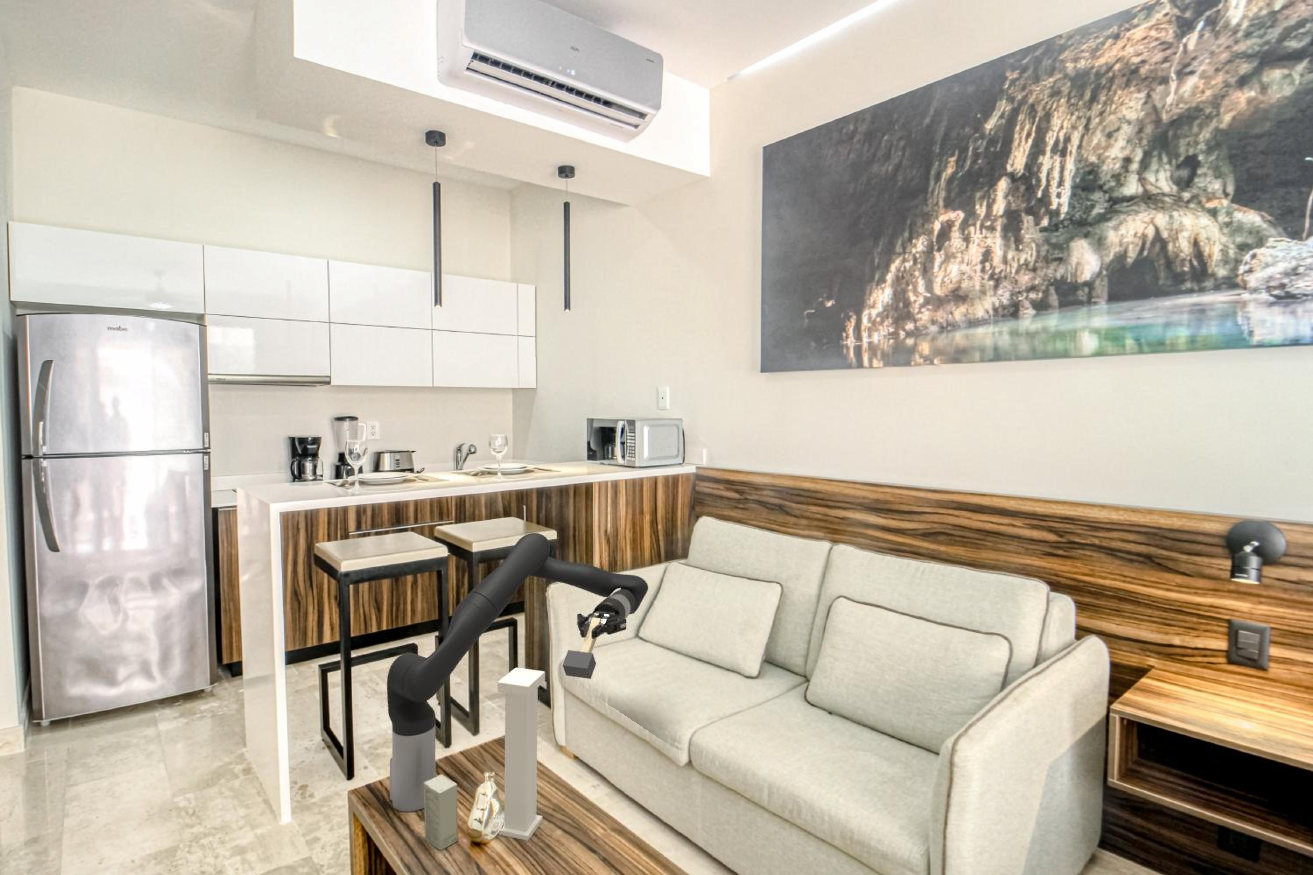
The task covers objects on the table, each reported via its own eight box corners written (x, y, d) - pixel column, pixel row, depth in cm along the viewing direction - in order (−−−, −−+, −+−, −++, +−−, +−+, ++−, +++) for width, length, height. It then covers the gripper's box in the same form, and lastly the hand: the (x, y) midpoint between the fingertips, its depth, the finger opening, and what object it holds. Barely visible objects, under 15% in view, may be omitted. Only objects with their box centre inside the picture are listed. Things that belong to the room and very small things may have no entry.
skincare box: (458, 841, 137) (459, 784, 137) (439, 851, 134) (439, 793, 133) (442, 828, 142) (442, 772, 141) (423, 838, 138) (422, 781, 138)
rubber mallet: (590, 678, 150) (587, 668, 147) (566, 675, 151) (562, 665, 149) (609, 624, 161) (606, 613, 159) (586, 621, 163) (583, 611, 160)
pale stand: (526, 841, 138) (528, 686, 136) (496, 835, 139) (497, 682, 138) (543, 818, 145) (545, 671, 144) (514, 813, 147) (515, 667, 145)
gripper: (587, 594, 173) (560, 615, 157) (638, 600, 170) (616, 621, 153) (587, 623, 174) (560, 646, 157) (637, 628, 170) (615, 653, 154)
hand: (587, 633), depth 155 cm, fingers closed on rubber mallet, 2 cm apart
